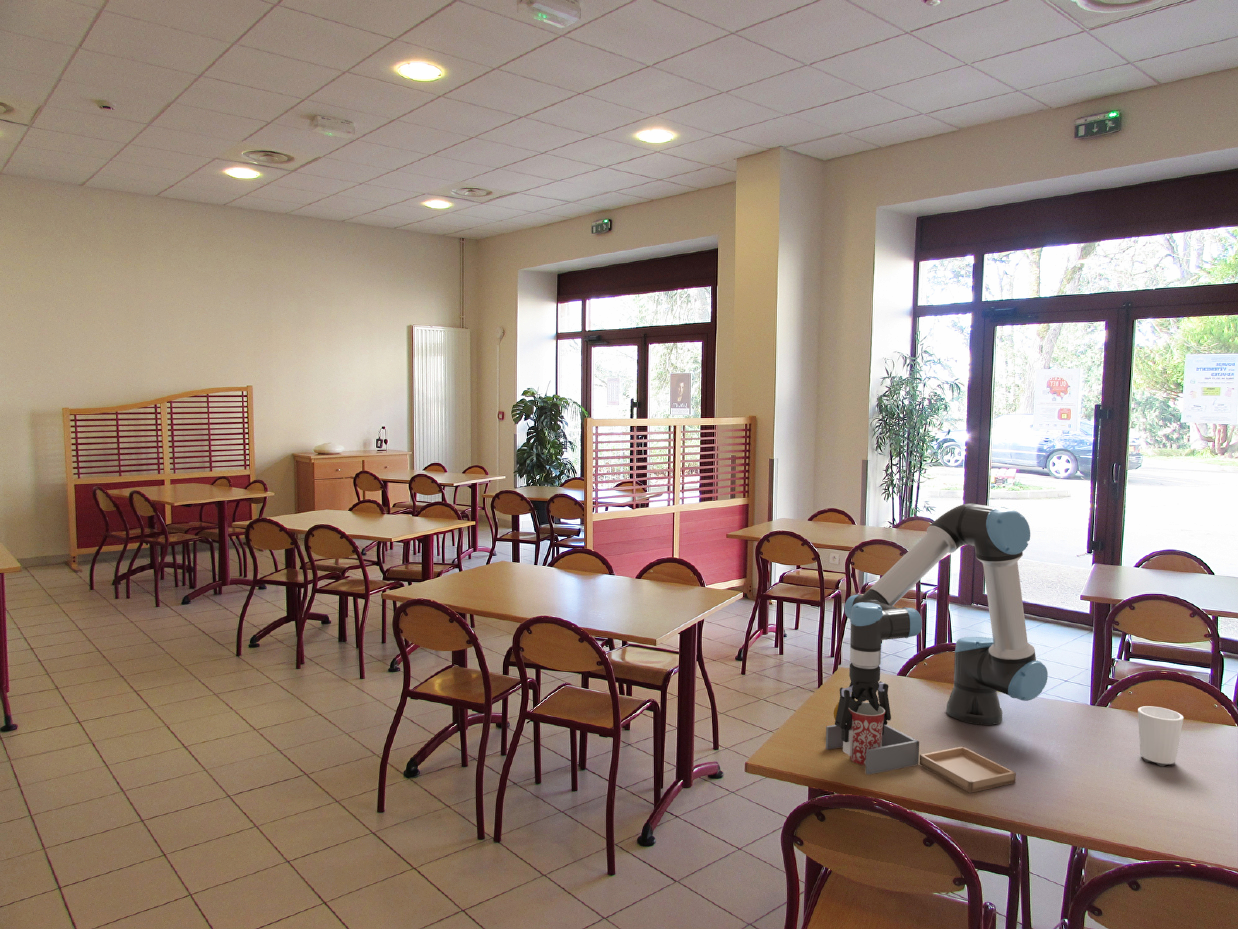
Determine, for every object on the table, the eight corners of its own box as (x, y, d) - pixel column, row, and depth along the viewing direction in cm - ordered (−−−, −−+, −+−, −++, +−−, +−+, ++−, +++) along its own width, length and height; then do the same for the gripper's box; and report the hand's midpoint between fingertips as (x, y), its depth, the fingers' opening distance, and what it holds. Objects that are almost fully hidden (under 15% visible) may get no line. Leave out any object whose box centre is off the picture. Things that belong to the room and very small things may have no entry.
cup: (1173, 756, 213) (1176, 709, 212) (1186, 772, 204) (1189, 722, 203) (1130, 750, 216) (1133, 704, 215) (1140, 765, 207) (1143, 717, 206)
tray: (962, 755, 211) (962, 746, 211) (1015, 782, 196) (1015, 772, 196) (919, 764, 206) (919, 754, 205) (970, 793, 191) (970, 782, 190)
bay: (873, 739, 221) (874, 718, 220) (918, 764, 205) (919, 741, 205) (825, 748, 215) (826, 726, 214) (867, 774, 199) (868, 751, 199)
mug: (884, 769, 202) (886, 716, 201) (846, 765, 204) (848, 712, 203) (881, 749, 214) (883, 699, 213) (845, 745, 216) (847, 695, 215)
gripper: (888, 655, 215) (885, 738, 216) (821, 664, 206) (818, 751, 208) (908, 663, 208) (905, 749, 209) (840, 673, 200) (837, 763, 201)
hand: (862, 750), depth 209 cm, fingers closed on mug, 9 cm apart
